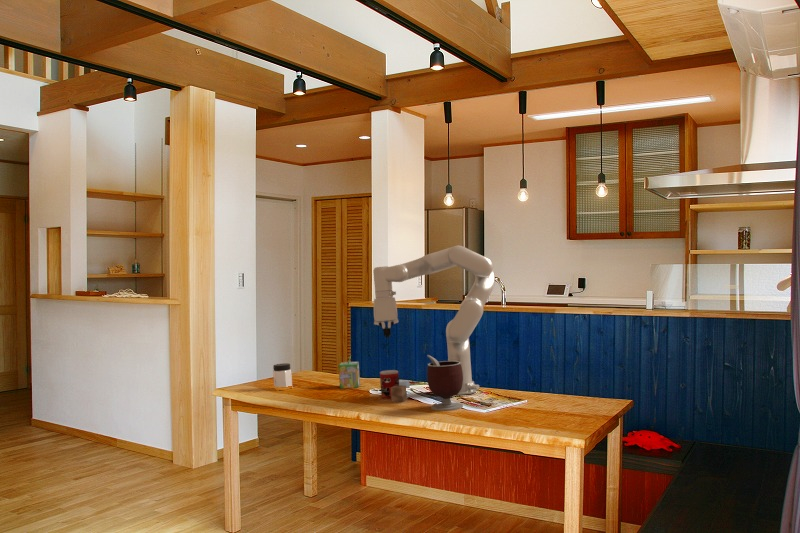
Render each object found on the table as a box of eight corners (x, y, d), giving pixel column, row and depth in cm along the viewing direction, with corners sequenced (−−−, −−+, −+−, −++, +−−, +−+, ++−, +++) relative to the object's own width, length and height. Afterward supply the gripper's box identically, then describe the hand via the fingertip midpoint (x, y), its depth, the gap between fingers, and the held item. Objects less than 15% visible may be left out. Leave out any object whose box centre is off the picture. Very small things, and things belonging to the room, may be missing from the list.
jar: (272, 389, 330) (270, 364, 330) (288, 386, 334) (286, 362, 334) (278, 391, 322) (276, 366, 322) (294, 389, 326) (292, 364, 326)
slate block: (409, 391, 298) (409, 380, 298) (399, 394, 295) (398, 382, 295) (401, 390, 303) (400, 379, 303) (391, 392, 299) (390, 381, 299)
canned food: (378, 396, 291) (377, 371, 291) (395, 394, 294) (393, 369, 294) (385, 399, 284) (384, 373, 284) (402, 396, 287) (401, 371, 287)
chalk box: (341, 385, 326) (339, 355, 326) (360, 384, 326) (358, 354, 326) (339, 389, 317) (337, 358, 317) (358, 388, 316) (356, 356, 316)
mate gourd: (472, 405, 260) (468, 354, 260) (448, 412, 250) (445, 359, 250) (442, 401, 271) (439, 352, 271) (418, 408, 261) (415, 357, 261)
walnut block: (407, 399, 280) (406, 385, 280) (403, 402, 276) (402, 387, 276) (395, 399, 282) (394, 385, 282) (391, 402, 277) (390, 387, 277)
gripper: (401, 293, 293) (405, 335, 293) (367, 296, 293) (370, 337, 293) (401, 294, 285) (404, 336, 285) (366, 296, 286) (369, 339, 285)
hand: (387, 337), depth 289 cm, fingers closed
